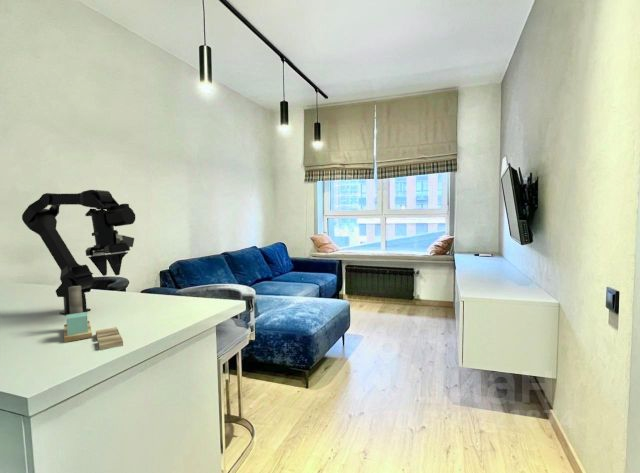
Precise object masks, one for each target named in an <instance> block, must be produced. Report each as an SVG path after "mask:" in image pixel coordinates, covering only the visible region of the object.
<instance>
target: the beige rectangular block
mask: <svg viewBox="0 0 640 473" xmlns="http://www.w3.org/2000/svg"><path fill="white" fill-rule="evenodd" d="M95 336H96V340H97V344H98V349H99V350H100V351H101V350H102V351H103V350H107V349H112V348H117V347H121V346H124V340H123V337H122V336H121V334H120V331H119V328H118V327H117V326H115V327H114V326H113V327H109V328H103V329H97V330H95Z"/></svg>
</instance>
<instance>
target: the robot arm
mask: <svg viewBox="0 0 640 473" xmlns="http://www.w3.org/2000/svg"><path fill="white" fill-rule="evenodd" d="M63 205H64V206H66V205H68V206H69V205H71V206H74V205H75V206H76V205H77V206H78V205H81V206H82V207H86V208H89V210H88V211H87V212H85V214H84V215H85V217H91V222H92V228H93V232H91V237H94V241H95V245H93V246H91V247H89V246H88V247H87V248H86V249H85V257H88V259H89V260H90V261H91V262H92V263H93V264H94V265H95V267H96V269H97V270H98V271H99V273H101V275H102V276H104V277H106V276H107V274H108V263H109V266H110V268H111V270H112V272H113V274H114V276H119V275H120V274H121V267H122V262H123V258H124V257H125V256H126V255H127V254H128V253H129V252H128V251H131V248H133V247H134V242H135V237H131V236H127V235H124V234H123V235H122V234H119V231H118V230H117V229H115V228H114V227H122V226H128V225H133V224H134V223H135V221H136V214H135V212H134V209H132V208H131V207H130V203H121V204H119V203H118V201H117V200H116V199H115V198H114V197H113V195H112V193H111V191H109V190H100V189H88V190H84V191H81V192H78V193H54V192H53V193H51V192H47V193H43V194H42V195H41V196H40V197H39V198H38V199H37V200H35V201H33V202H32V203H31V204H29V205H28V206H27V208H26V209H25V210H24V212H23V213H22V216H21V219H22V222H23V223H24V224H25V226H26V227H27V228H28V229H29V230H30V231H32V232H33V233H35V234H37V235H38V236H39V237H40V238H41V240H42V241H43V243H44V245H45V246H46V248H47V250H48V251H49V254H51V256H52V258H53V260H54V261H55V263H56V264H57V266H58V267H59V269H60V277H59V280H60V282H61V283H60V285H59V286H58V287H57V288H56V289H55V294H56V297H58V298H63V308H64V309H63V311H60V312H59V314H61V315H69V314H70V306H69V290H68V287H72V286H81V292H82V309H83V312H86V313H87V312H88V311H91V309H92V308H88V307H87V298H86V297H87V296H86V293H90V292H91V291H92V288H93V287H92V286H93V282H94V277H93V275H94V273H93V272H92V271H91V270H90V268H89V266H88V265H87V264H79V263H78V262H77V261H76V259H75V258H74V255H73V254H72V252H71V251H70V249H69V248H68V246H67V244H66V243H65V242H64V240H63V238H62V236H61V235H60V233H59V232H58V230H57V223H58V222H57V216H58V215H59V214H60V207H61V206H63ZM48 206H50V207H49V208H47V207H48Z"/></svg>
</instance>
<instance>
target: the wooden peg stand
mask: <svg viewBox="0 0 640 473" xmlns="http://www.w3.org/2000/svg"><path fill="white" fill-rule="evenodd" d="M68 290H69V306H70V314H76V313H83V309H82V292H81V286H72V287H68ZM87 321H88V332H86V333H81V334H75V335H69V336H68V335H67V323H66V324H64V325H63V339H64V340H63V341H64V342H63V343H68V342H72V341H74V342H75V341H79V340H80V341H81V340H85V339H91V338H93V332H92V327H91V323H90V320H87Z"/></svg>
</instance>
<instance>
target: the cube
mask: <svg viewBox="0 0 640 473" xmlns="http://www.w3.org/2000/svg"><path fill="white" fill-rule="evenodd" d="M87 314H88V312H87V311H86V312H83V313H76V314H69V315H67V314H65V315H66V317H65V318H66V324H67V335H68V336H69V335H75V334H81V333H86V332H88V321H89V320H88V315H87Z"/></svg>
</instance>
